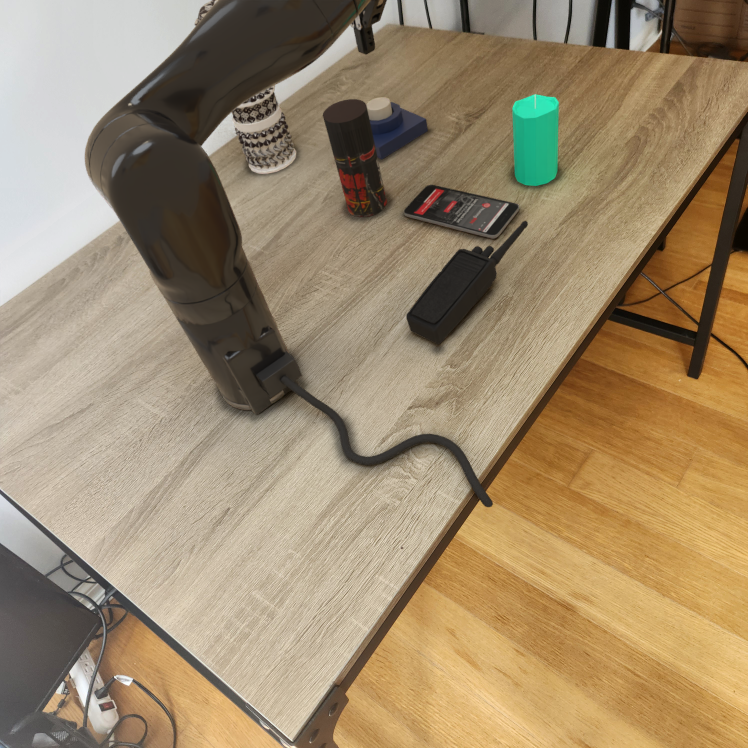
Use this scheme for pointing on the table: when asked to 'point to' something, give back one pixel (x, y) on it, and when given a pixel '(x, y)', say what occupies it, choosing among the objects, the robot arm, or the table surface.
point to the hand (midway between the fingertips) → (367, 51)
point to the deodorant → (355, 157)
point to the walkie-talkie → (456, 290)
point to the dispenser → (396, 130)
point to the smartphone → (462, 211)
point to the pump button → (379, 108)
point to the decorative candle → (261, 127)
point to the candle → (535, 139)
